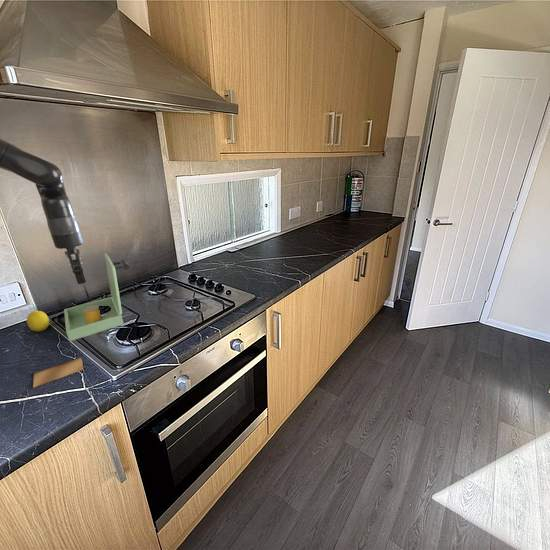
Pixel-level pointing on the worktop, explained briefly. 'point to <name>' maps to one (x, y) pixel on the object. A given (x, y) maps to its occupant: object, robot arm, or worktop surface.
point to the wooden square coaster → (57, 372)
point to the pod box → (80, 328)
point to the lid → (115, 279)
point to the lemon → (37, 321)
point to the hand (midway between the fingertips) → (80, 278)
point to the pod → (92, 314)
